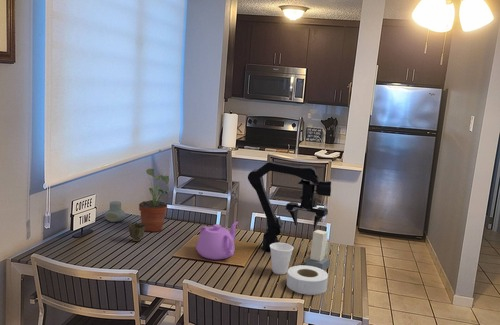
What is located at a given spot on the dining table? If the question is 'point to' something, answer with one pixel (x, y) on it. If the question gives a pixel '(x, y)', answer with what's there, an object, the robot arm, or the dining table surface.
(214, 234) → the teapot
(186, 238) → the dining table surface
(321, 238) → the cream block
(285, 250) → the cup
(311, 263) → the base block
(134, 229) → the cup
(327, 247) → the sage block
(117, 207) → the air freshener
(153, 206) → the potted plant
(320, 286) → the roll of tape
